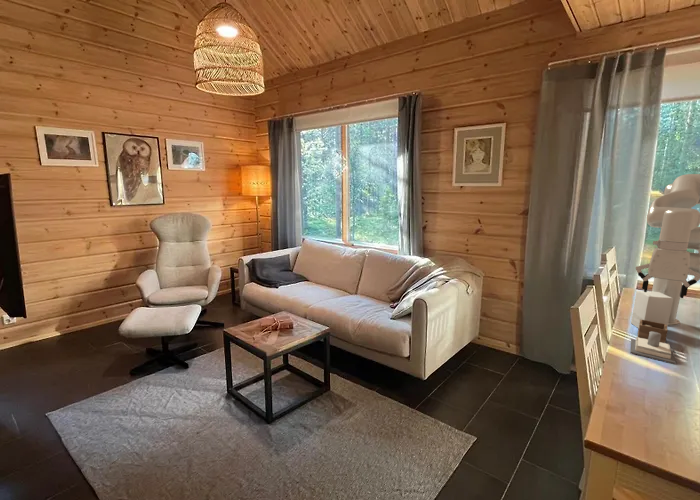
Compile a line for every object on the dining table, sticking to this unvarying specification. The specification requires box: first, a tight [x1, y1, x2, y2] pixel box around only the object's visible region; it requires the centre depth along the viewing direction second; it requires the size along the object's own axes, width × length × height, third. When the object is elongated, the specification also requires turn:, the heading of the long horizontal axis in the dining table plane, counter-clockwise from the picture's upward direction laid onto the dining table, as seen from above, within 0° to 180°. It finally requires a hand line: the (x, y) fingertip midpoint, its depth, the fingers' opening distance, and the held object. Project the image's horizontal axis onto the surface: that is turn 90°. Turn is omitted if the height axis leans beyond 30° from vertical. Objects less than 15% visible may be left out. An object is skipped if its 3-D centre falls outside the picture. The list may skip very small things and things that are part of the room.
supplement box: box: [630, 290, 673, 329], centre depth 150 cm, size 9×9×15 cm
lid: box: [635, 331, 671, 359], centre depth 129 cm, size 9×9×6 cm
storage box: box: [637, 319, 668, 343], centre depth 139 cm, size 8×8×6 cm
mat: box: [629, 338, 676, 365], centre depth 130 cm, size 14×12×1 cm
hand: (662, 294), depth 126 cm, fingers open, 9 cm apart
